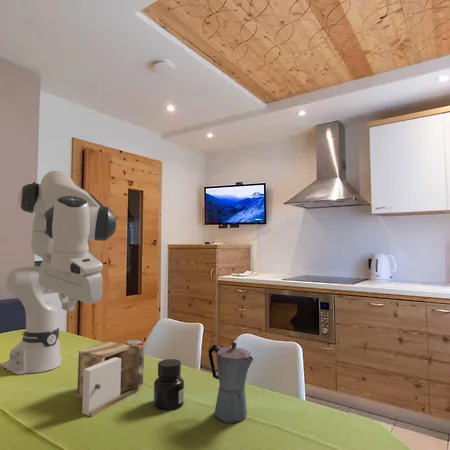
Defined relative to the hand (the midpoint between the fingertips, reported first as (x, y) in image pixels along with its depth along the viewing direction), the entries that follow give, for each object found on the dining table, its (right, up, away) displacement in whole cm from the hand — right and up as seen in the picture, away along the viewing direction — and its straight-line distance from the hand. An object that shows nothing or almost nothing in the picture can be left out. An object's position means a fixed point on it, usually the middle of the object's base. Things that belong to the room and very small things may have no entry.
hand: (68, 309), depth 89 cm
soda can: (+9, -33, +33) cm, 47 cm away
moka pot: (+43, -31, +4) cm, 53 cm away
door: (+6, -30, +9) cm, 32 cm away
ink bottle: (+25, -31, +10) cm, 41 cm away
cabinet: (+4, -31, +14) cm, 34 cm away
